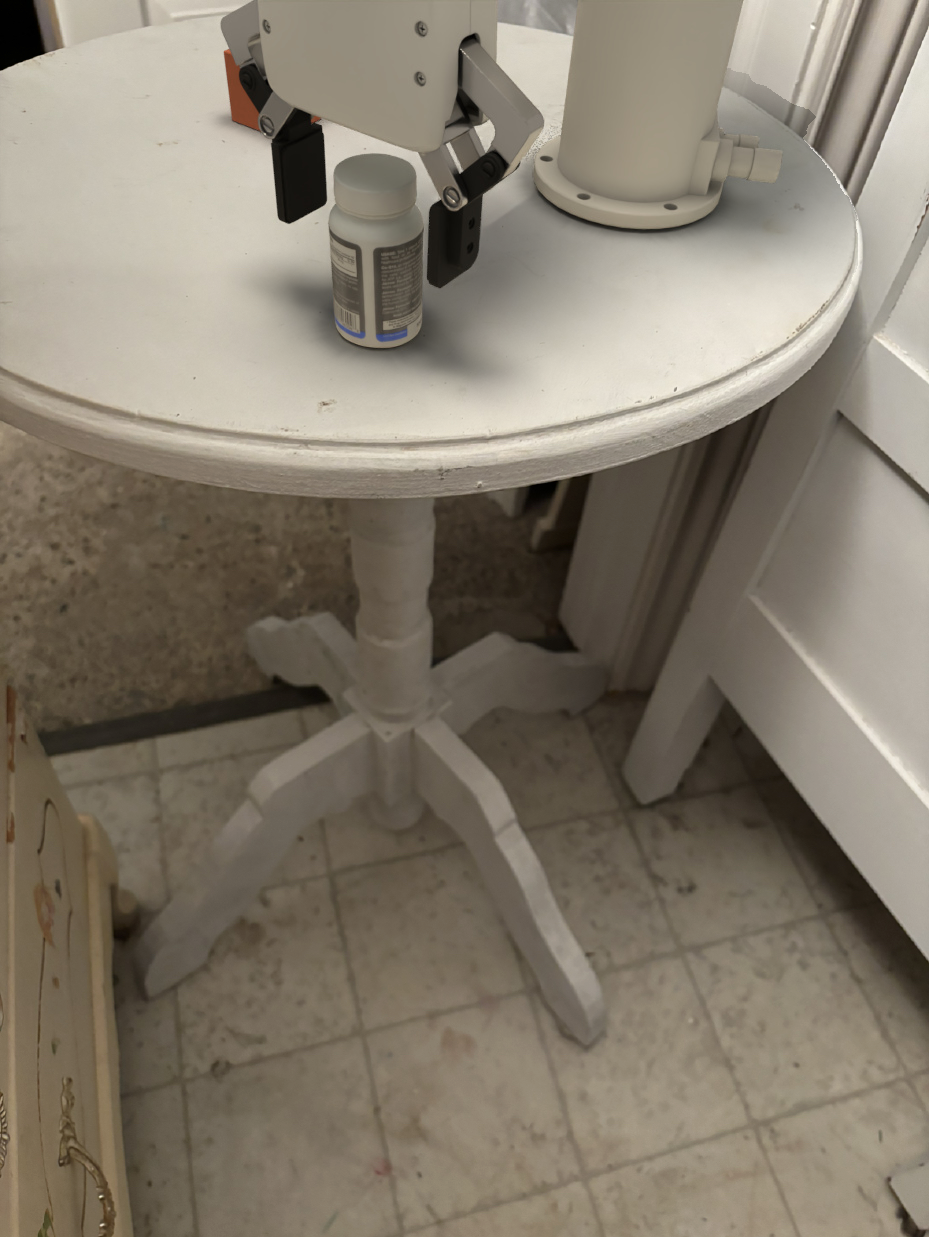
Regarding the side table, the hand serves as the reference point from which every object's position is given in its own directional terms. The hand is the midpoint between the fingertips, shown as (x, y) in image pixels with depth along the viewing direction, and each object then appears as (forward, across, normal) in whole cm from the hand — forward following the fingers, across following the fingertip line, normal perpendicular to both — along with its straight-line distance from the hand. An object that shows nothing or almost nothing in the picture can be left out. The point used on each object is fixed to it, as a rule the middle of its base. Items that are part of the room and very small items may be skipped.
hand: (374, 243), depth 48 cm
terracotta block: (+5, +22, -16) cm, 27 cm away
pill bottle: (+5, 0, 0) cm, 5 cm away
